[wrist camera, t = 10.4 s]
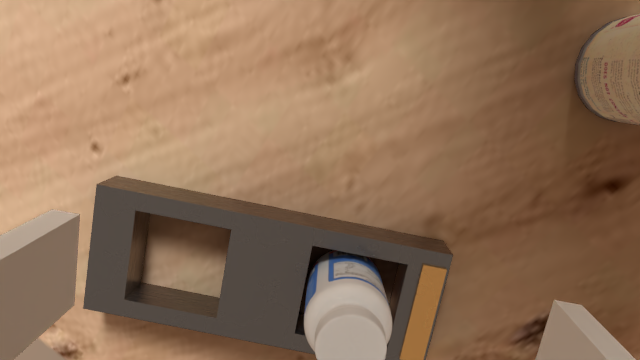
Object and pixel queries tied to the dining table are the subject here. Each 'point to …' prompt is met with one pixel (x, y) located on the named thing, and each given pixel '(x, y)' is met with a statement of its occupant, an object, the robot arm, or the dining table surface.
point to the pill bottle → (346, 309)
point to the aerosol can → (612, 71)
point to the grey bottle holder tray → (253, 267)
